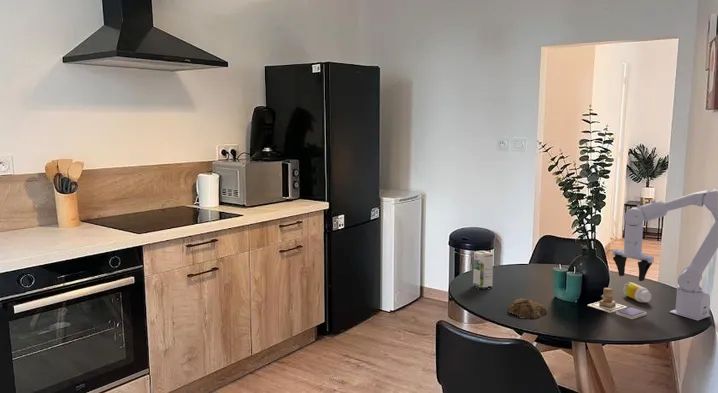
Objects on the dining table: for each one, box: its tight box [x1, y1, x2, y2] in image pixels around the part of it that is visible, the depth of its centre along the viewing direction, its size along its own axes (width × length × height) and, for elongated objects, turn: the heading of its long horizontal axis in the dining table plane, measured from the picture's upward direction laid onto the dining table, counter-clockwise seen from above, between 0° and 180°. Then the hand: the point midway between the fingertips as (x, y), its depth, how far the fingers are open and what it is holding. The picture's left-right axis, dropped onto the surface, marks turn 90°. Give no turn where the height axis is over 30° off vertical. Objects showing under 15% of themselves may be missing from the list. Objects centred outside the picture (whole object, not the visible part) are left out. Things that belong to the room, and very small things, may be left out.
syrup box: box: [472, 250, 494, 287], centre depth 220 cm, size 6×6×14 cm
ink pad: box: [615, 307, 647, 320], centre depth 188 cm, size 6×8×1 cm
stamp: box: [598, 287, 617, 308], centre depth 196 cm, size 4×4×6 cm
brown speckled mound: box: [507, 298, 548, 319], centre depth 191 cm, size 13×12×5 cm
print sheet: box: [587, 301, 628, 314], centre depth 196 cm, size 9×10×1 cm
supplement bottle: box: [622, 281, 652, 303], centre depth 202 cm, size 6×6×10 cm
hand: (631, 278), depth 197 cm, fingers open, 7 cm apart
